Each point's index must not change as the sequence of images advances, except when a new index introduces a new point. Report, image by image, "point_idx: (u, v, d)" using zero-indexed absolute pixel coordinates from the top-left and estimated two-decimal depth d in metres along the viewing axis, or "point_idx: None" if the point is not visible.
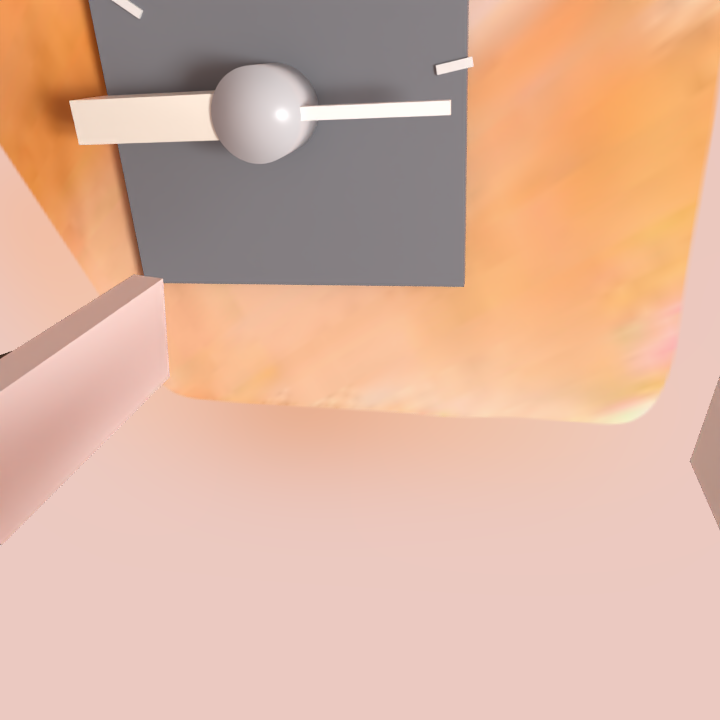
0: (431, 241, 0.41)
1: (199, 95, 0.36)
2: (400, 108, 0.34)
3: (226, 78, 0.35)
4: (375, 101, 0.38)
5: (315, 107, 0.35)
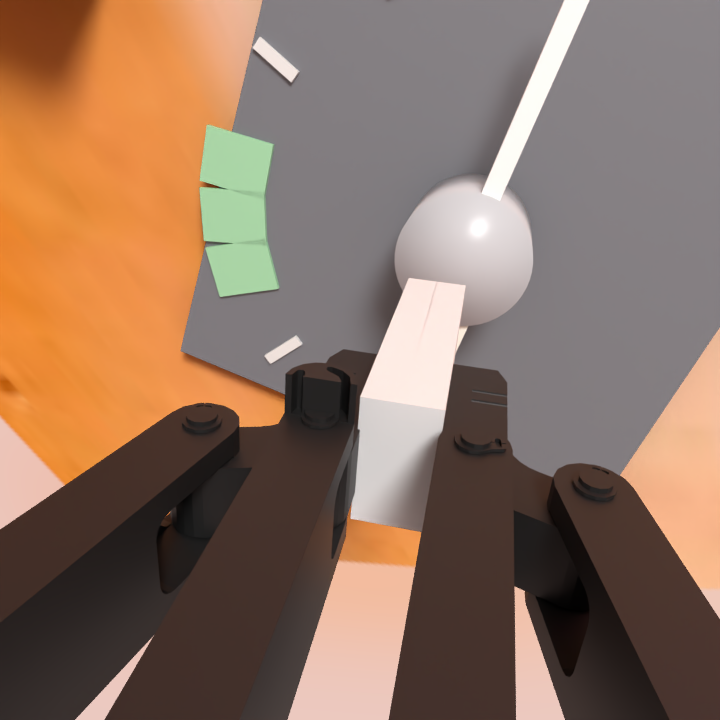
0: None
1: None
2: (559, 34, 0.21)
3: (400, 275, 0.25)
4: None
5: (492, 170, 0.23)
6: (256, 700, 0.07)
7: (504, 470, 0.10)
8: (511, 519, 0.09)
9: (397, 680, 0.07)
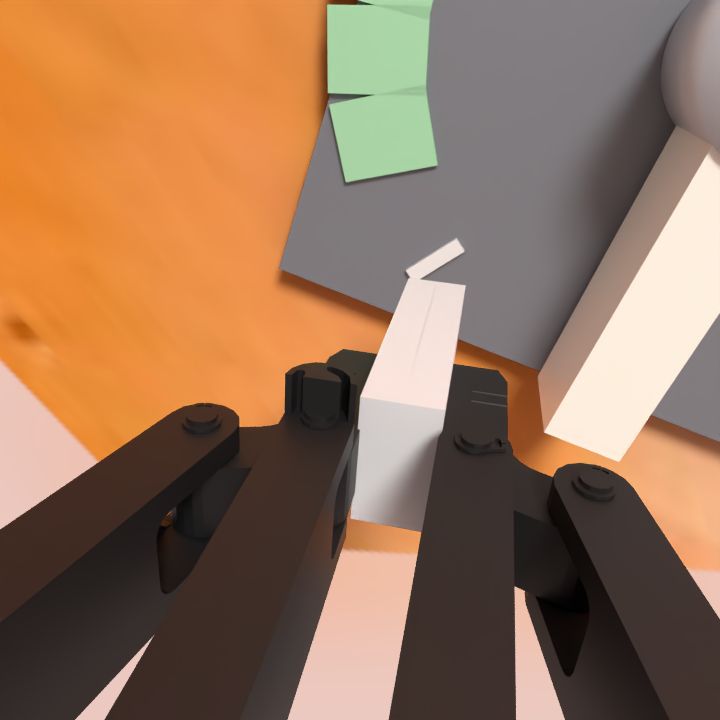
0: None
1: (692, 182, 0.16)
2: None
3: (706, 98, 0.15)
4: None
5: None
6: (256, 700, 0.07)
7: (504, 470, 0.10)
8: (511, 519, 0.09)
9: (397, 680, 0.07)
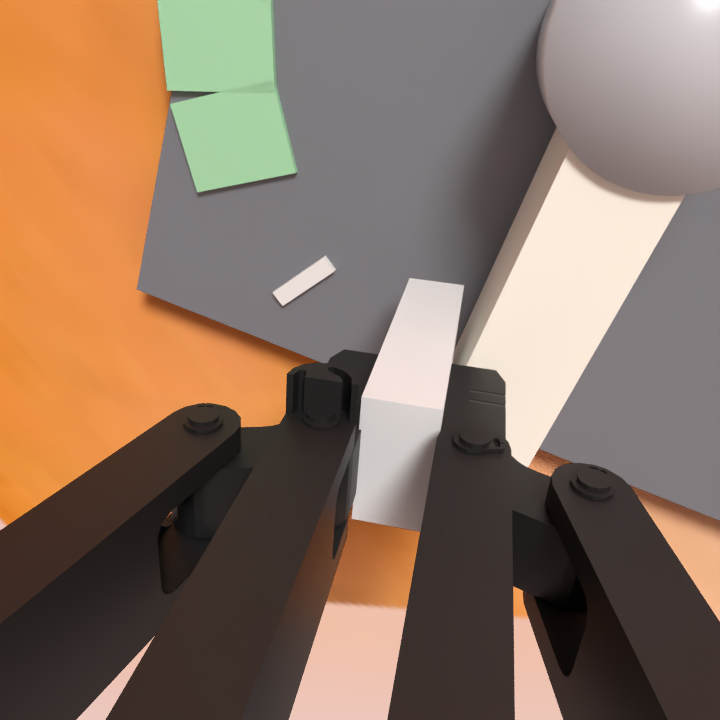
0: None
1: (551, 193, 0.13)
2: None
3: (555, 90, 0.12)
4: None
5: None
6: (257, 700, 0.07)
7: (503, 470, 0.10)
8: (510, 519, 0.09)
9: (396, 680, 0.07)
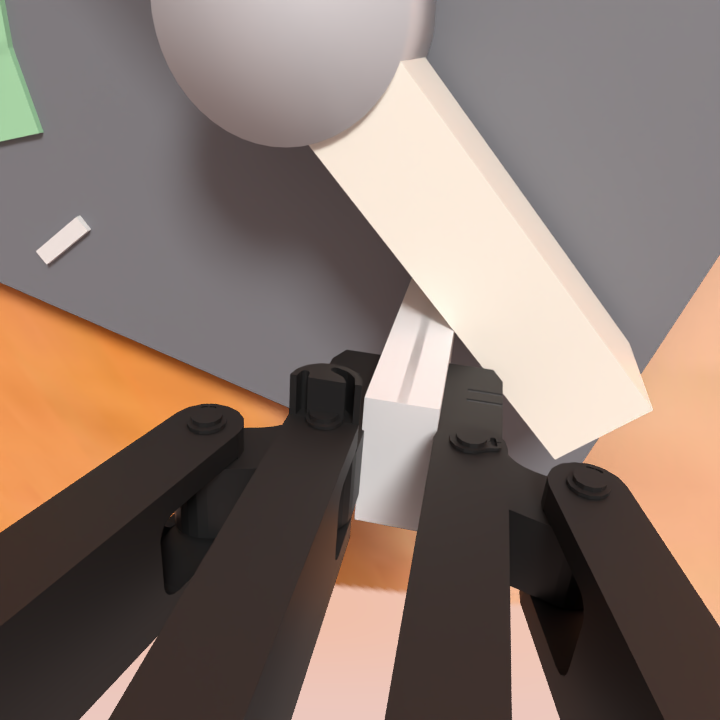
0: None
1: (339, 179, 0.14)
2: None
3: (252, 134, 0.13)
4: None
5: None
6: (259, 701, 0.07)
7: (499, 469, 0.10)
8: (506, 518, 0.09)
9: (393, 680, 0.07)
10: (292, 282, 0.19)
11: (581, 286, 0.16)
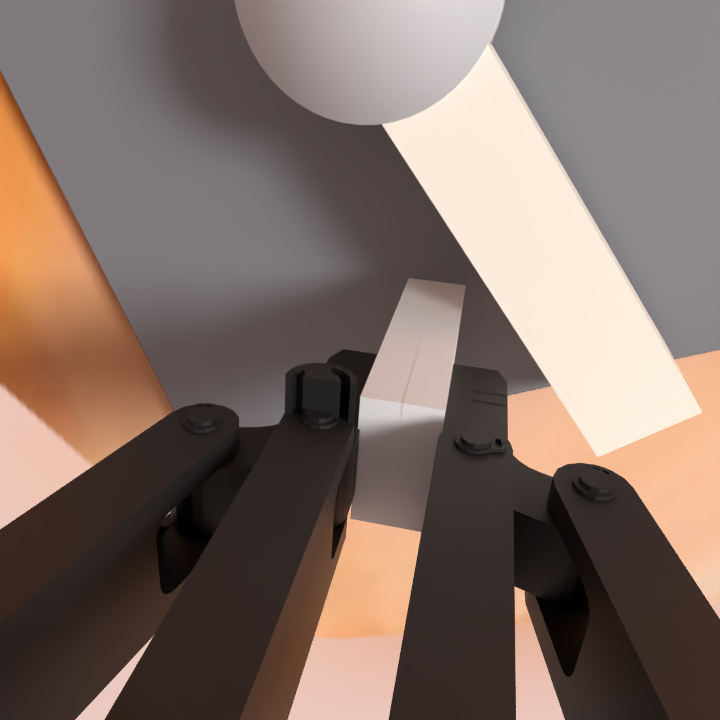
0: None
1: (409, 161, 0.13)
2: None
3: (324, 108, 0.13)
4: None
5: None
6: (256, 700, 0.07)
7: (504, 470, 0.10)
8: (511, 519, 0.09)
9: (397, 680, 0.07)
10: (173, 136, 0.18)
11: (631, 285, 0.16)
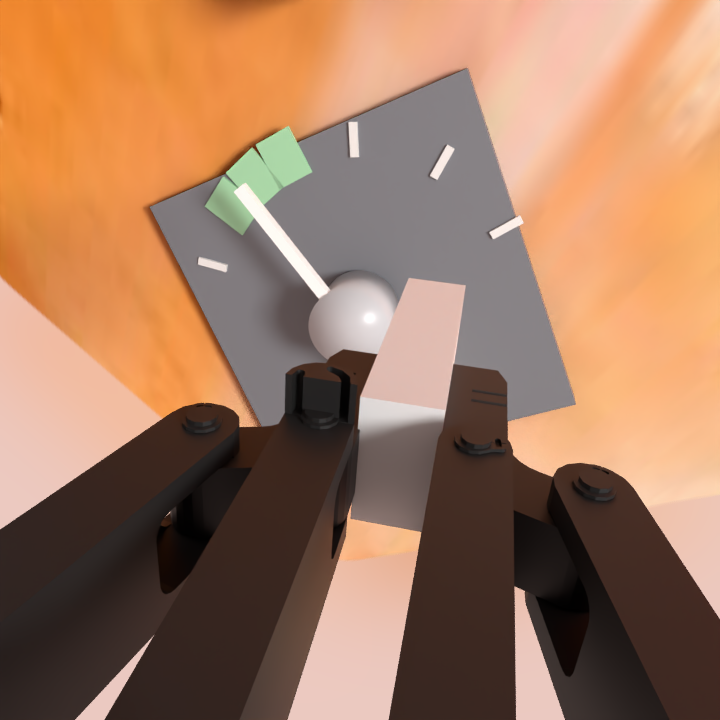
0: (532, 374, 0.43)
1: None
2: (265, 225, 0.39)
3: None
4: (444, 276, 0.42)
5: (311, 288, 0.40)
6: (256, 700, 0.07)
7: (504, 470, 0.10)
8: (511, 519, 0.09)
9: (397, 680, 0.07)
10: (278, 348, 0.46)
11: None
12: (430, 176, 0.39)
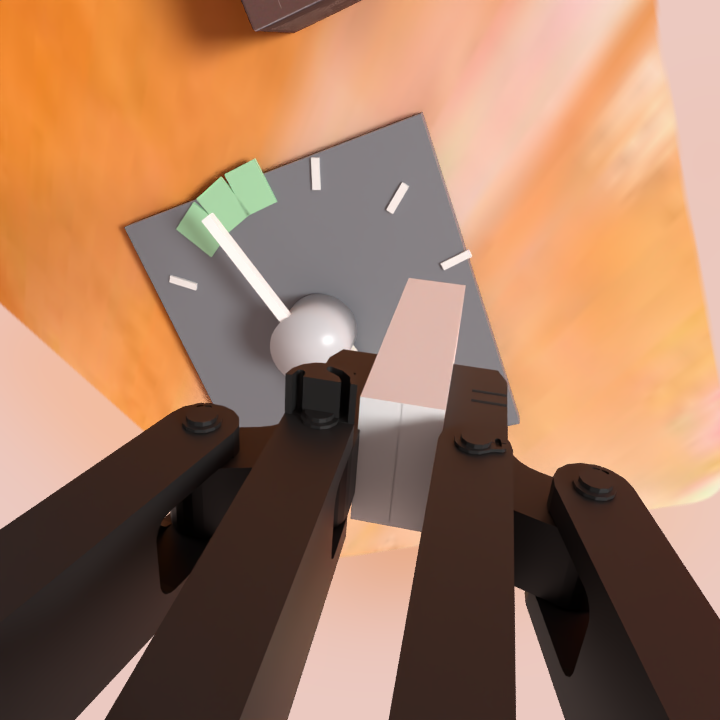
0: None
1: None
2: (230, 252, 0.41)
3: None
4: None
5: (273, 311, 0.42)
6: (256, 700, 0.07)
7: (504, 470, 0.10)
8: (511, 519, 0.09)
9: (397, 680, 0.07)
10: (244, 362, 0.49)
11: None
12: (386, 210, 0.42)
